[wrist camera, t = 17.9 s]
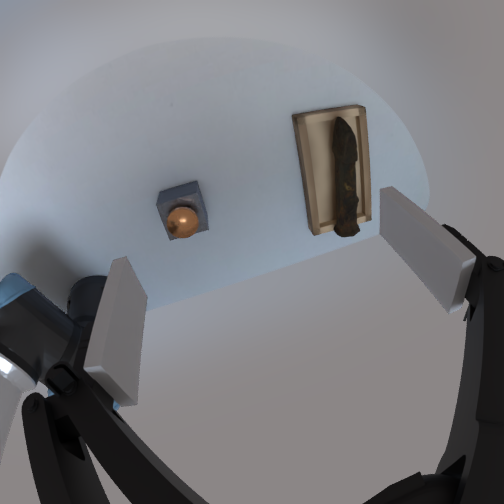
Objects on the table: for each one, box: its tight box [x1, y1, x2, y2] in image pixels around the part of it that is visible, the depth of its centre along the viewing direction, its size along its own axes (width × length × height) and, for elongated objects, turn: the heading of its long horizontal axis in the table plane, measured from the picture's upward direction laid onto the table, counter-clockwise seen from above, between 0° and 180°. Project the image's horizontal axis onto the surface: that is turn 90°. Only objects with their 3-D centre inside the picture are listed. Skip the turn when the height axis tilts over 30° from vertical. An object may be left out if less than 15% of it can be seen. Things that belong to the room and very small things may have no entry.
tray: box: [292, 105, 371, 236], centre depth 48 cm, size 11×20×3 cm, turn 12°
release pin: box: [167, 206, 199, 238], centre depth 45 cm, size 4×4×7 cm
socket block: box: [156, 181, 209, 240], centre depth 46 cm, size 6×6×5 cm
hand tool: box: [332, 116, 360, 237], centre depth 45 cm, size 19×4×5 cm, turn 8°
